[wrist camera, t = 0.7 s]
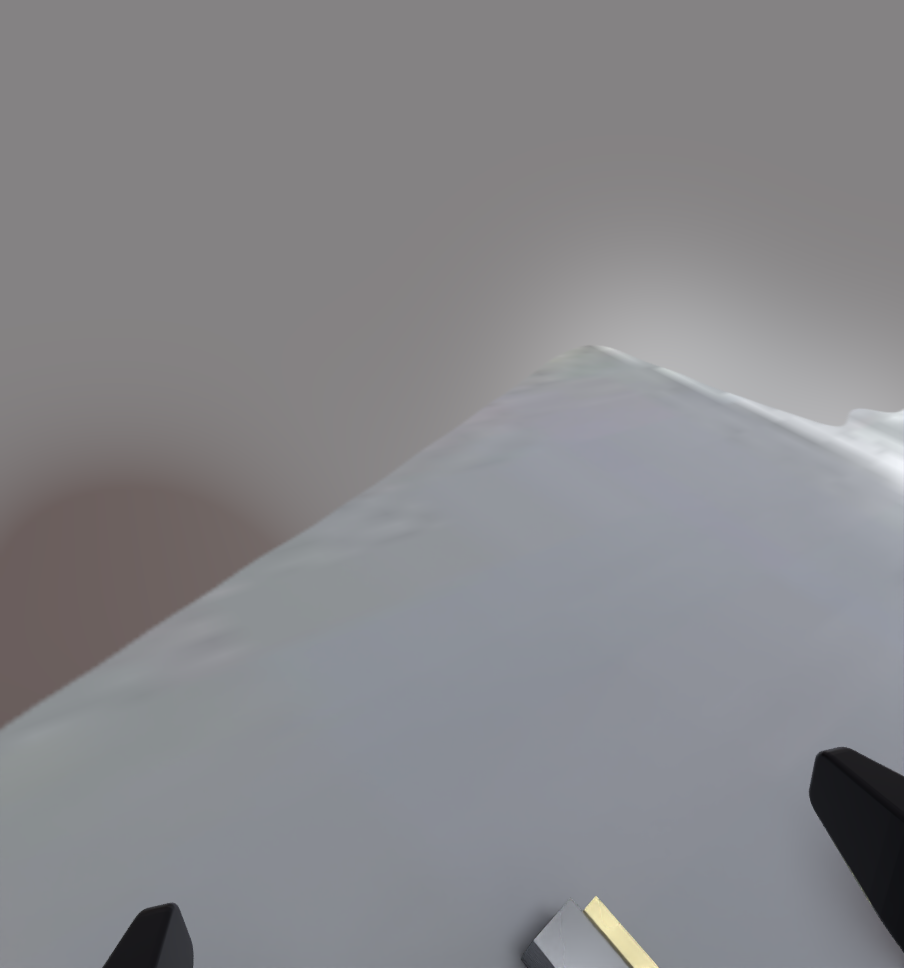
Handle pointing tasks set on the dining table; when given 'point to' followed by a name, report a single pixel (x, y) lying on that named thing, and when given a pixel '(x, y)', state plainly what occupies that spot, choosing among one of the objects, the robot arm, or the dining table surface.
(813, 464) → the dining table surface
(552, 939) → the price rail
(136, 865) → the dining table surface
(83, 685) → the dining table surface
